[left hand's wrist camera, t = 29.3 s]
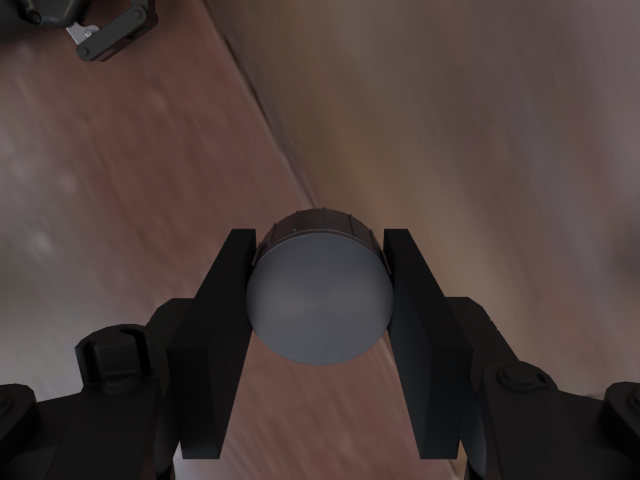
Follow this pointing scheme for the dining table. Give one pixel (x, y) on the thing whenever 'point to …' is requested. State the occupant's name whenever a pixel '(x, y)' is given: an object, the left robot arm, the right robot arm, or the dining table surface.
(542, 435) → the left robot arm
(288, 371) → the dining table surface
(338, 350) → the cap
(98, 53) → the right robot arm
